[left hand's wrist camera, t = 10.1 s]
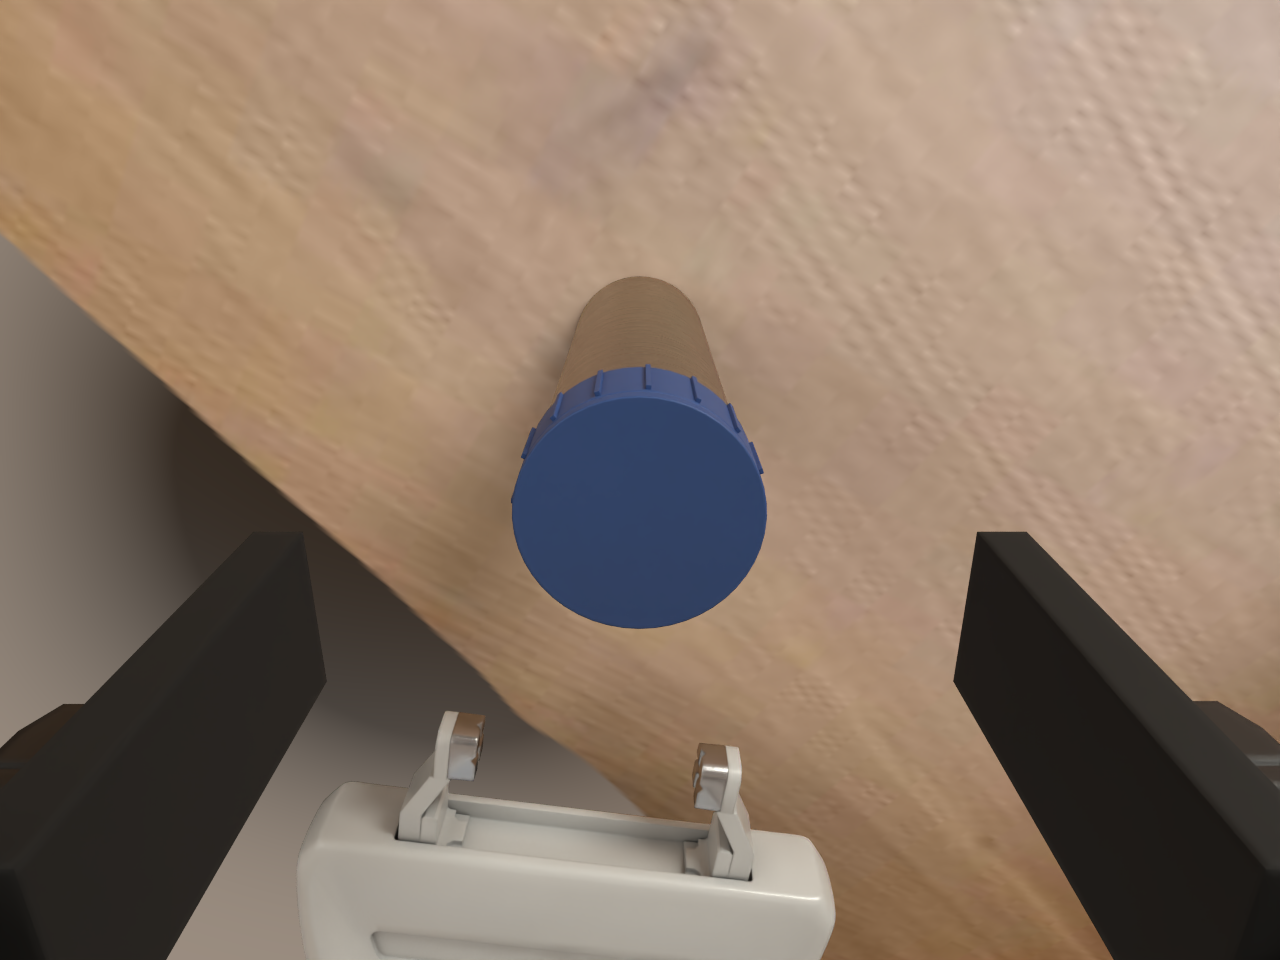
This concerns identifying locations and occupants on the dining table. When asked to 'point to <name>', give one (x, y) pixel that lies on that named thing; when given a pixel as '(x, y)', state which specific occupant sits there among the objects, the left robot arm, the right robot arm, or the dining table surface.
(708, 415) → the lid
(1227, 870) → the left robot arm
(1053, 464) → the dining table surface
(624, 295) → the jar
